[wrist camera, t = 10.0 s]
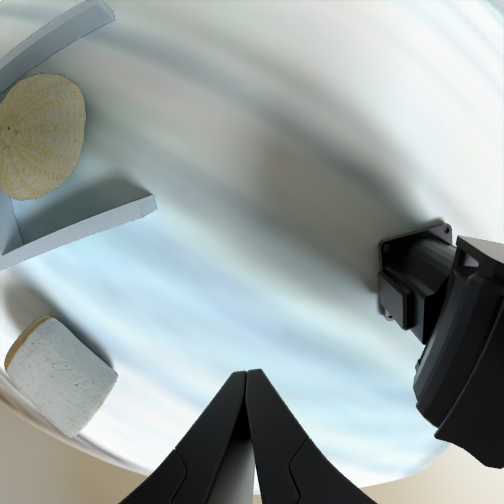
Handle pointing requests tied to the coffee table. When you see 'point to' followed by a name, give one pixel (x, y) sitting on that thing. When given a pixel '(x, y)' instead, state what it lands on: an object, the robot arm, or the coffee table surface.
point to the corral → (11, 69)
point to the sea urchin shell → (40, 135)
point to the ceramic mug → (59, 374)
